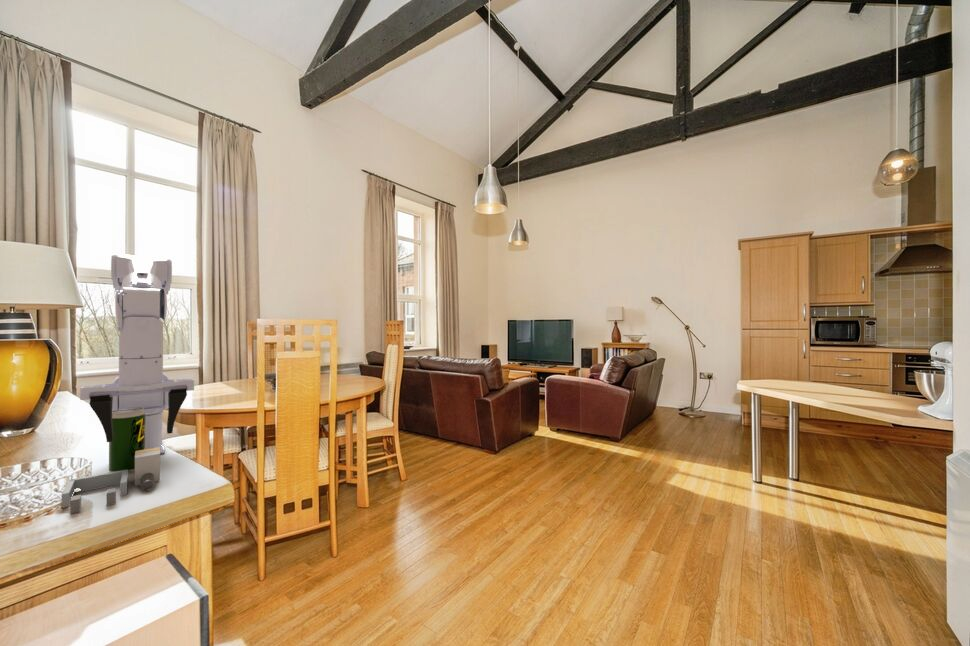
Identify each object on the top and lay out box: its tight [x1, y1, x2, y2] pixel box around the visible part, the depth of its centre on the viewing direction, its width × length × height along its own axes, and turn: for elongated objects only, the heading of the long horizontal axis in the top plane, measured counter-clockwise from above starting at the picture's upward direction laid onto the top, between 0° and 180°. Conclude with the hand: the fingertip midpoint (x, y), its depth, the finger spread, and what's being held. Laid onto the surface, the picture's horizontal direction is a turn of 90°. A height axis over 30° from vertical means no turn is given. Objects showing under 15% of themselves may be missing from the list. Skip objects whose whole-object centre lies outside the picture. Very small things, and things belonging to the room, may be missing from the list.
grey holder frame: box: [61, 469, 129, 515], centre depth 66 cm, size 11×8×2 cm
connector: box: [134, 447, 161, 491], centre depth 72 cm, size 10×4×5 cm, turn 41°
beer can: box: [108, 407, 146, 474], centre depth 77 cm, size 5×5×12 cm
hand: (141, 436), depth 67 cm, fingers open, 7 cm apart
